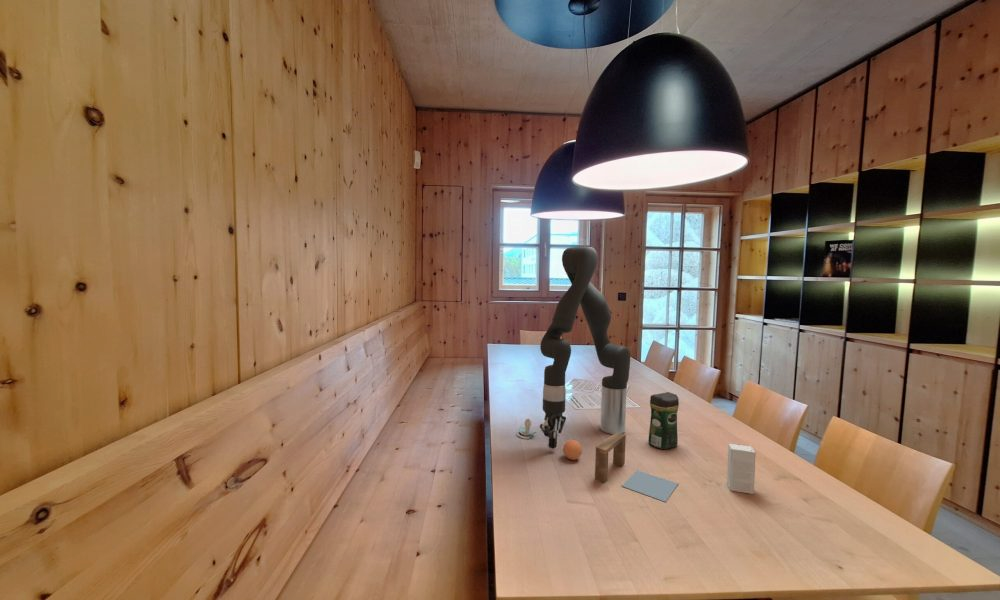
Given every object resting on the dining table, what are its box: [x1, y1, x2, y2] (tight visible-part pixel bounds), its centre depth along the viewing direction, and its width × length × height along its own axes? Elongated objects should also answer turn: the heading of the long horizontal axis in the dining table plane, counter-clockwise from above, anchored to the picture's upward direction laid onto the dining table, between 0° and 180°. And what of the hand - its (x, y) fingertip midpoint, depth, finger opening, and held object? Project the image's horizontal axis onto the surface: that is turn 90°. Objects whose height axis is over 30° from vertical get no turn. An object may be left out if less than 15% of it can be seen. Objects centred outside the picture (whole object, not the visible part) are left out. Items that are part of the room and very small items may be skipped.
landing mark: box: [621, 469, 679, 503], centre depth 114 cm, size 12×12×1 cm
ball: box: [562, 439, 583, 461], centre depth 129 cm, size 6×6×6 cm
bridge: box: [594, 432, 627, 484], centre depth 121 cm, size 3×15×10 cm, turn 141°
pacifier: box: [516, 418, 537, 440], centre depth 147 cm, size 7×6×6 cm
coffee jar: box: [648, 391, 680, 450], centre depth 141 cm, size 10×8×19 cm
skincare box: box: [726, 443, 757, 495], centre depth 112 cm, size 6×4×12 cm
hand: (552, 447), depth 134 cm, fingers closed
